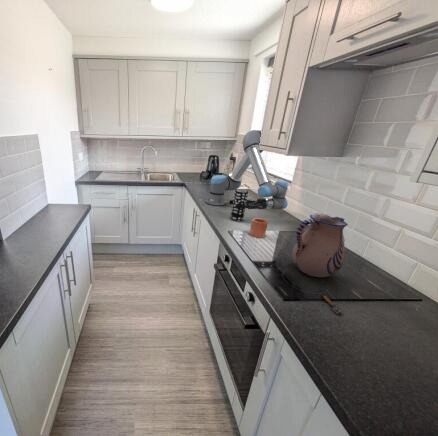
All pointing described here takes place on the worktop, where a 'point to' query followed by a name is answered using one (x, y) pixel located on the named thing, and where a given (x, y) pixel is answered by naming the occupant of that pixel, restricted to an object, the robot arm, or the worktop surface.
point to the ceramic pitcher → (320, 245)
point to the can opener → (332, 305)
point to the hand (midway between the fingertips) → (232, 204)
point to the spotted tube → (239, 198)
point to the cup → (258, 227)
